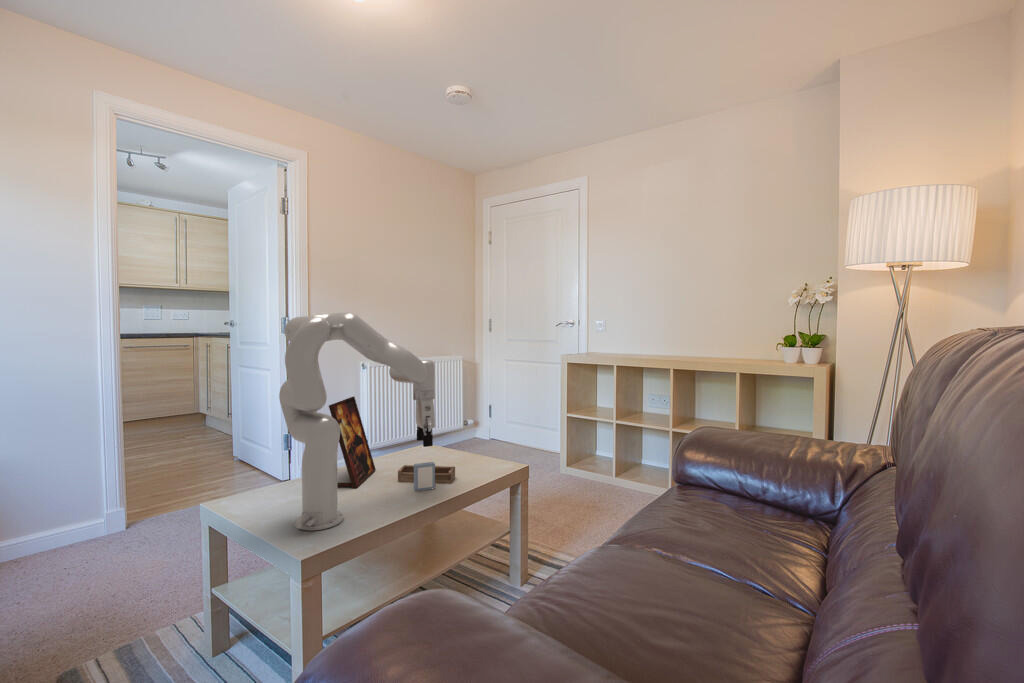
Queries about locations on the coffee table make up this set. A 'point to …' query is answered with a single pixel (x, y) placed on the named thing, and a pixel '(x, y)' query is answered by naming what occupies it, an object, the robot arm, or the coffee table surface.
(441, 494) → the coffee table surface
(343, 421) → the picture frame
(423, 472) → the blue frame tile
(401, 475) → the wooden tray box
